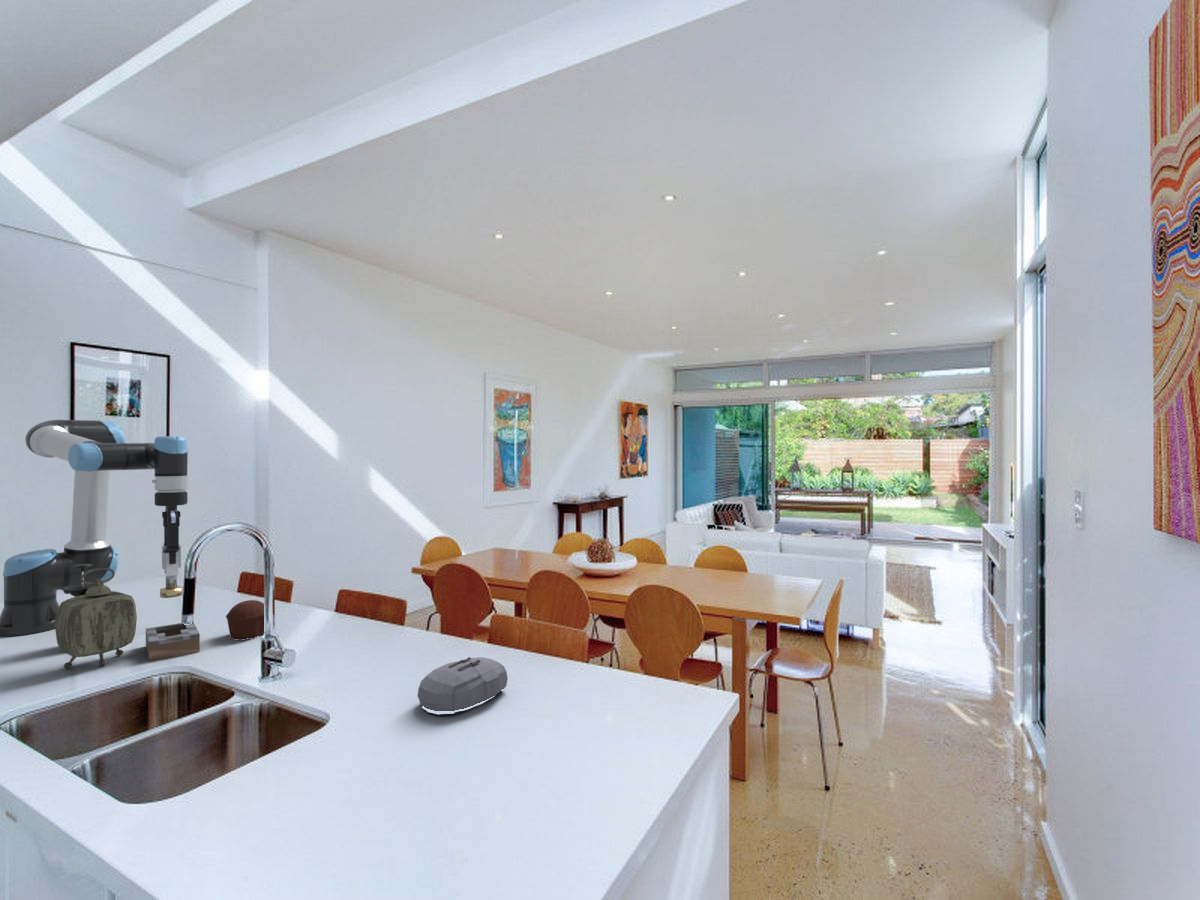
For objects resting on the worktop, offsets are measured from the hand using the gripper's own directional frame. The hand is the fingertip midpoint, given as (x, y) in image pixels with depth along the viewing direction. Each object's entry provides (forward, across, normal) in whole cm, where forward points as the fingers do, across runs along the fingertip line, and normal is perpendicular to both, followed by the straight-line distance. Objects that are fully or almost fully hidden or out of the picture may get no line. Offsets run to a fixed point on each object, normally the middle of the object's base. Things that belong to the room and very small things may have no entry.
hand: (171, 573), depth 165 cm
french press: (+21, -16, -18) cm, 32 cm away
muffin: (+21, +2, +18) cm, 28 cm away
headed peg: (+6, 0, 0) cm, 6 cm away
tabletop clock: (+21, +5, -16) cm, 26 cm away
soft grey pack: (+21, +84, +46) cm, 98 cm away
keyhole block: (+20, +3, 0) cm, 21 cm away
